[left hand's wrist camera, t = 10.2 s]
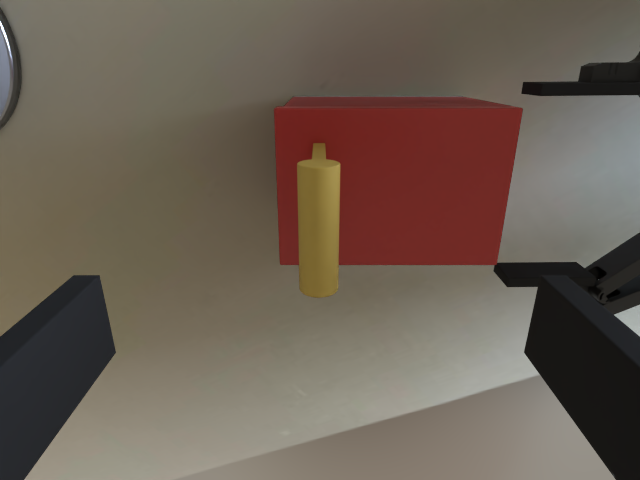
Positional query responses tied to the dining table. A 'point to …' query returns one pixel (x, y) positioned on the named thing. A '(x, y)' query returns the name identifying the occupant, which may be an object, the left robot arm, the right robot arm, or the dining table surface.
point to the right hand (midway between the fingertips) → (514, 189)
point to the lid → (391, 186)
